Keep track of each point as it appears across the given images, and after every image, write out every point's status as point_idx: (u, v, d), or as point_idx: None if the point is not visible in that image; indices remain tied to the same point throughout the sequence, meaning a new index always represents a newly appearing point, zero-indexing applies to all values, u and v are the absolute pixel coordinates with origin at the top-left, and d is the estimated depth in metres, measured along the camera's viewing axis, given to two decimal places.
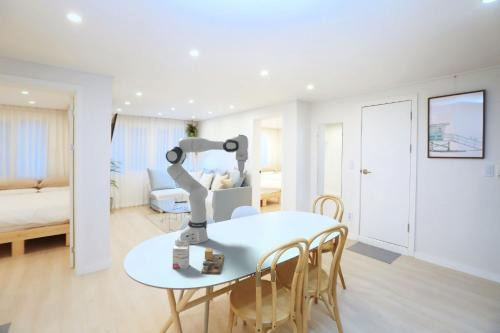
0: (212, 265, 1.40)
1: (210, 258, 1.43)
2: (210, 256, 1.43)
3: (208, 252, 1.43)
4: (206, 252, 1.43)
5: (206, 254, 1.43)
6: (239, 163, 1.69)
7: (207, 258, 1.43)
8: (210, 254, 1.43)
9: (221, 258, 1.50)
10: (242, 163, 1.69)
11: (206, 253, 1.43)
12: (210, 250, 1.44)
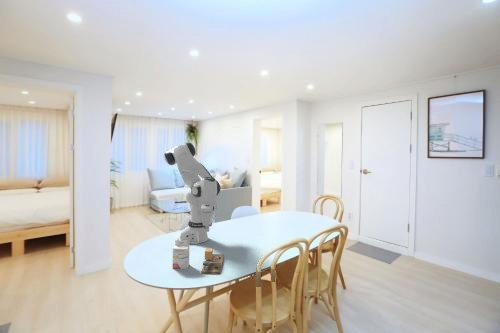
0: (212, 265, 1.40)
1: (210, 258, 1.43)
2: (210, 256, 1.43)
3: (208, 252, 1.43)
4: (206, 252, 1.43)
5: (206, 254, 1.43)
6: (204, 216, 1.33)
7: (207, 258, 1.43)
8: (210, 254, 1.43)
9: (221, 258, 1.50)
10: (207, 216, 1.33)
11: (206, 253, 1.43)
12: (210, 250, 1.44)
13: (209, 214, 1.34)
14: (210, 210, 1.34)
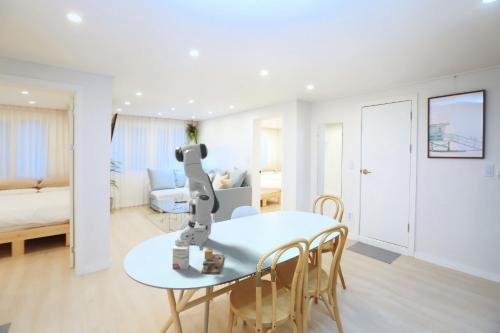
0: (212, 265, 1.40)
1: (210, 258, 1.43)
2: (210, 256, 1.43)
3: (208, 252, 1.43)
4: (206, 252, 1.43)
5: (206, 254, 1.43)
6: (196, 236, 1.33)
7: (207, 258, 1.43)
8: (210, 254, 1.43)
9: (221, 258, 1.50)
10: (200, 236, 1.33)
11: (206, 253, 1.43)
12: (210, 250, 1.44)
13: (202, 234, 1.33)
14: (203, 230, 1.34)
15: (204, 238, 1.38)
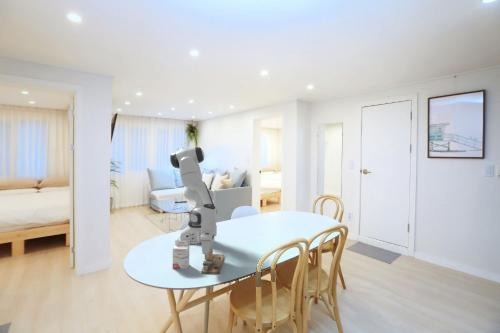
0: (212, 265, 1.40)
1: (210, 258, 1.43)
2: (210, 256, 1.43)
3: None
4: None
5: None
6: (203, 245, 1.34)
7: (207, 258, 1.43)
8: (210, 254, 1.43)
9: (221, 258, 1.50)
10: (207, 245, 1.34)
11: None
12: (210, 250, 1.44)
13: (209, 243, 1.35)
14: (210, 239, 1.35)
15: (210, 247, 1.39)
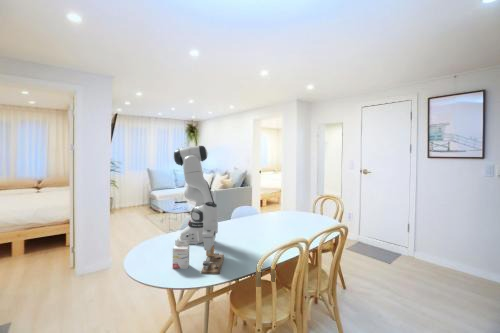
0: (212, 265, 1.40)
1: (211, 254, 1.48)
2: (211, 252, 1.48)
3: None
4: None
5: None
6: (205, 241, 1.40)
7: (208, 254, 1.48)
8: (211, 250, 1.48)
9: (221, 258, 1.50)
10: (209, 241, 1.40)
11: None
12: None
13: (210, 239, 1.40)
14: (211, 235, 1.40)
15: (212, 243, 1.44)
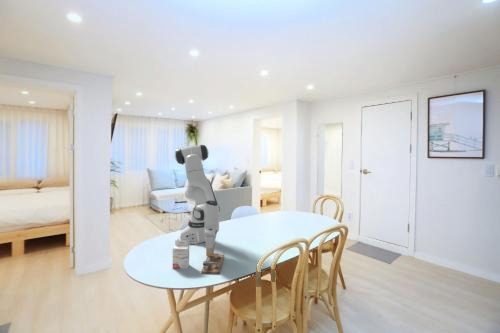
0: (212, 265, 1.40)
1: (211, 254, 1.48)
2: None
3: None
4: None
5: (208, 250, 1.48)
6: (207, 240, 1.40)
7: (208, 254, 1.48)
8: None
9: (221, 258, 1.50)
10: (211, 240, 1.40)
11: (208, 249, 1.48)
12: None
13: (212, 238, 1.40)
14: (213, 234, 1.41)
15: (213, 242, 1.45)
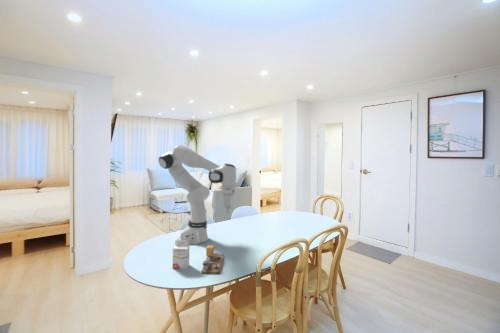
0: (212, 265, 1.40)
1: (211, 254, 1.48)
2: (211, 252, 1.48)
3: (210, 248, 1.48)
4: (208, 248, 1.48)
5: (208, 250, 1.48)
6: (225, 198, 1.49)
7: (208, 254, 1.48)
8: (211, 250, 1.48)
9: (221, 258, 1.50)
10: (228, 198, 1.49)
11: (208, 249, 1.48)
12: (211, 247, 1.49)
13: (230, 196, 1.49)
14: (230, 193, 1.49)
15: None
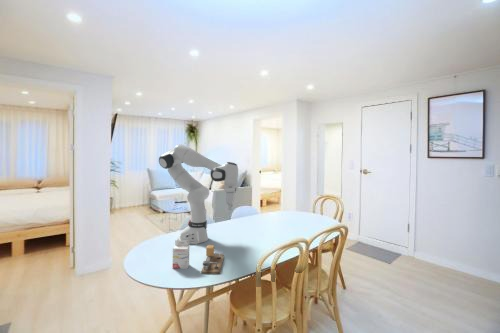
0: (212, 265, 1.40)
1: (211, 254, 1.48)
2: (211, 252, 1.48)
3: (210, 248, 1.48)
4: (208, 248, 1.48)
5: (208, 250, 1.48)
6: (227, 196, 1.50)
7: (208, 254, 1.48)
8: (211, 250, 1.48)
9: (221, 258, 1.50)
10: (231, 196, 1.50)
11: (208, 249, 1.48)
12: (211, 247, 1.49)
13: (232, 194, 1.51)
14: (233, 190, 1.51)
15: None
